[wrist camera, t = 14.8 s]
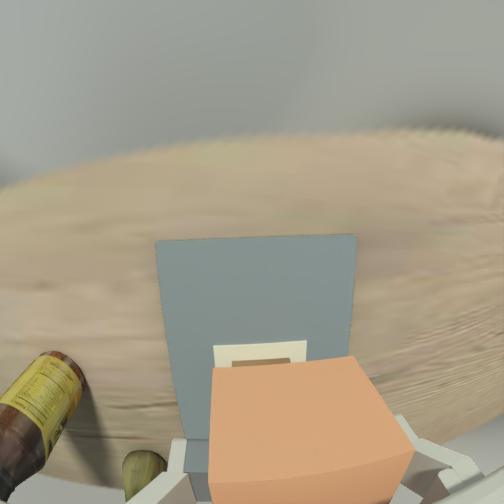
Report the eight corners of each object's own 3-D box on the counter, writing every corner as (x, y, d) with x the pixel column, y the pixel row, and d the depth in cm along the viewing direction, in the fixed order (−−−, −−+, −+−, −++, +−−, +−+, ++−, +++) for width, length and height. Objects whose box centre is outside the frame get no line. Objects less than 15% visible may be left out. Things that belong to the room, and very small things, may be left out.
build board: (328, 451, 32) (330, 458, 31) (193, 461, 31) (192, 468, 30) (352, 233, 26) (357, 236, 25) (158, 240, 25) (154, 243, 24)
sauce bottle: (64, 401, 28) (-11, 530, 9) (29, 357, 27) (-70, 475, 8) (101, 386, 28) (24, 541, 9) (64, 337, 27) (-50, 476, 7)
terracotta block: (337, 446, 12) (371, 532, 7) (223, 458, 12) (226, 554, 7) (352, 355, 11) (415, 449, 6) (212, 367, 10) (208, 482, 6)
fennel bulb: (142, 472, 31) (125, 546, 20) (116, 450, 30) (90, 525, 19) (176, 462, 31) (165, 543, 19) (149, 439, 30) (128, 522, 18)
